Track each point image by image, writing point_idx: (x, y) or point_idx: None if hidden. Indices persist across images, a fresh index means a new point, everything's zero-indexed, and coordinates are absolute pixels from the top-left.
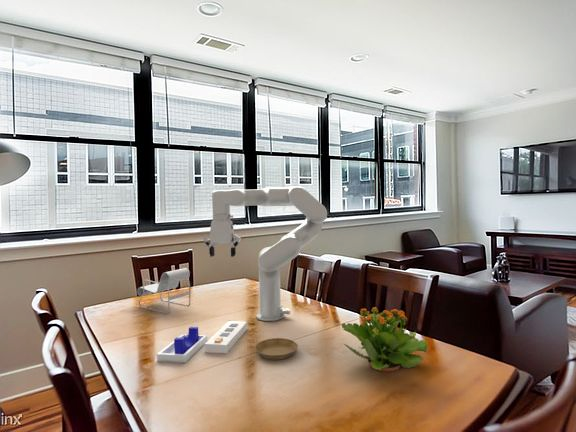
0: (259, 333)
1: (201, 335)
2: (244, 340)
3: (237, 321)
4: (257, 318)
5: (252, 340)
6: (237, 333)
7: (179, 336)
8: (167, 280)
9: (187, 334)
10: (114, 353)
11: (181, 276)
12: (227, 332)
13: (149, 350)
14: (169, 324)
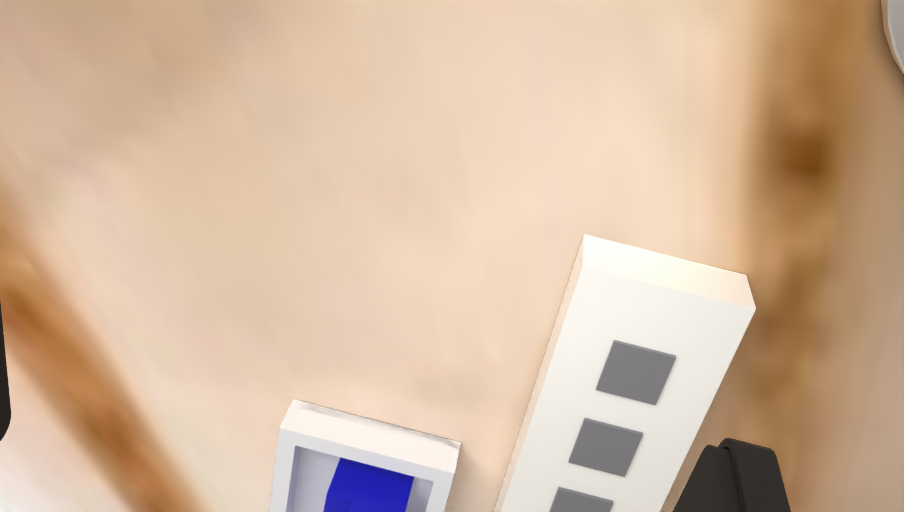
0: (837, 374)
1: (416, 470)
2: None
3: (666, 290)
4: (885, 34)
5: None
6: (666, 490)
7: (276, 460)
8: None
9: (329, 494)
10: (3, 486)
11: None
12: (593, 482)
13: (163, 486)
14: (40, 74)
